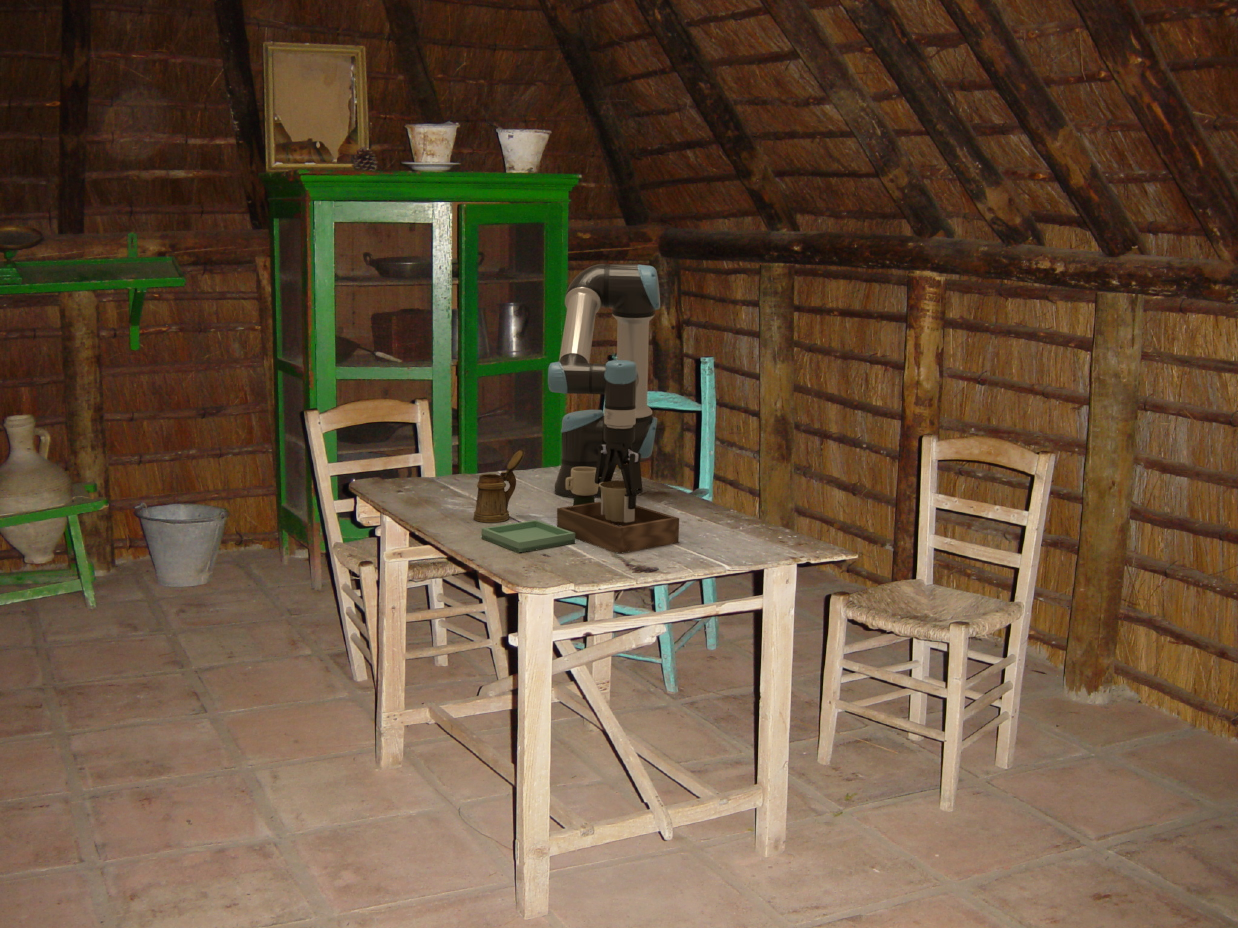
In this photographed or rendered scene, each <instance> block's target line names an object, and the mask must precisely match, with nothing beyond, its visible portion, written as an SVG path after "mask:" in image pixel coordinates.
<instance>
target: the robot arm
mask: <svg viewBox="0 0 1238 928" xmlns="http://www.w3.org/2000/svg"><path fill="white" fill-rule="evenodd" d="M657 271H658V270H657V269H656V267H654V266H652V265H645V264H633V263H632V264H619V263H618V264H617V263H616V264H612V263H611V264H607V263H599V264H593V265H591V266H589V267H587V268H585V269H584V270H582V271H581V272H579V273H578V274H577V275H576V276H575V277H574V278H573V280H572V281H571V283H569V286H568V288H567V290H566V292H565V297H564V306H565V308H566V314H565V320H564V321H565V322H564V327H563V328H564V329H563V334H562V339H561V346H560V353H559V359H558V361H555V362H550V363H549V365H548V369H547V370H548V372H547V385H548V390H549V391H550V392H552V393H559V394H565V395H569V394H573V395H574V394H577V395H578V394H580V395H581V394H582V395H583V394H584V395H585V394H586V395H587V394H588V395H604V406H603V407H604V411H603V410H602V409H586V410H577V411H572V412H569V413H566V414H565V415H564V416H563V417H562V419H561V420H562V421H561V430H560V433H561V453H560V457H561V458H560V461H561V462H560V468H559V471H558V474H557V477H556V481H555V483H554V493H555V494H556V495H557V496H560V497H561V496H562V497H567V498H573V499H574V498H575V496H576V494H573V493H572V492H571V490H566V478H567V477H571V469H572V468H574V467H594V468H596V474H595V483H596V484H599V483H601V482H608V481H612V479H613V476H614V473H615V471H616V467H618V469H619V470H620V473H621V476H622V477H621V478H622V480H623V481H624V485H625V489H626V493H627V494H625V496H624V522H625V523H626V522H632V521H634V518H635V508H636V505H637V496H638V495H642V494H643V482H642V480H643V479H642V471H641V459H647V458H650V457H651V456H652V453H653V451H654V443H655V438H656V430H657V425H658V418H657V417H656V416H653V410H652V409H651V407H649V406H648V381H649V380H648V379H649V375H648V374H649V337H650V336H649V335H650V334H649V331H650V329H649V328H650V321H651V320H652V319H653V318H654V317H655V315H656V311H657V310H660V309H661V299H660V297H661V296H660V295H661V294H660V285H659V278H658V277H659V276H658V272H657ZM601 308H605V309H611V316H612V317H613V318H615V320H616V321H617V328H616V329H617V335H616V336H617V337H616V338H617V339H616V341H617V342H616V360H614V359H613V360H608V361H607V362H606V363H590V360H591V352H592V345H593V337H594V329H595V322H596V321H595V320H596V314H597V313H598V312H599V311H600V309H601ZM600 477H601V478H600ZM569 486H570V481H569ZM592 496H593V497H594V498H598V497H600V502H601V514H602V515H605V511H604V503H603V496H602V492H601V488H600V487H598V492H597V494H594V495H592Z"/></svg>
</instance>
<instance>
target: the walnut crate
mask: <svg viewBox="0 0 1238 928" xmlns="http://www.w3.org/2000/svg"><path fill="white" fill-rule="evenodd" d="M556 517H557V518H556V527H559V528H562V529H565V530H568V531H571V532H574V533H575V540H578V541H579V540H580V541H582V542H585V543H588V544H590V545H593V546H596V547H598V546H599V547H598V548H601V549H604V548H605V549H604V550H607V549H609V550H608V551H611V552H613V551H614V552H613V553H616V552H618V553H620V554H623V553H622V552H625V553H629V552H628V551H630V552H634V551H640V550H639V549H641V550H645V548H646V549H650V548H656V547H655V546H657V547H661V545H662V546H666V545H672V544H671V543H673V544H676V543H679V540H680V539H679V537H680V517H678V516H674V515H669V514H667V513H663V512H661V511H656V510H653V509H651V508H647V507H643V506H641V505H640V506H639V505H637V504H636V508H635V518H634V521H632V522H626V523H625V522H614V521H611V520H607V519H606V518H605V515H602V514H601V501H596V502H595V503H588V504H582V505H575V506H573V505H571V506H570V505H569V506H564V507H557V509H556ZM618 553H617V554H618Z"/></svg>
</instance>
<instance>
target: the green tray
mask: <svg viewBox="0 0 1238 928" xmlns="http://www.w3.org/2000/svg"><path fill="white" fill-rule="evenodd" d="M481 539H482V540H485V541H488V542H490V543H492V544H495V545H498V546H500V547H503V548H504V549H507V548H508V550H510V551H513V552H515V551H516V552H515V553H518V552H522V553H526V551H528V552H532V551H533V550H534V551H537V550H536V549H539V550H544V548H545V549H550V547H551V548H555V547H554V546H556V547H560V545H562V546H567V545H572V544H576V538H575V533H574V532H571V531H568V530H565V529H562V528H559V527H557V525H553V524H551V523H547V522H544V521H542V520H539V519H533V520H526V521H521V522H519V521H518V522H514V523H507V524H501V525H494V526H493V525H492V526H488V527H481Z"/></svg>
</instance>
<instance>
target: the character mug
mask: <svg viewBox="0 0 1238 928" xmlns="http://www.w3.org/2000/svg"><path fill="white" fill-rule="evenodd" d="M595 474H596V468H594V467H574V468H572V469H571V477H567V478H566V490H571V492H572V493H573V494H576V496H575V498H574V497H573V503H572V506H575V505H582V504H588V503H595V497H593V496H592V495H594V494H597V492H598V487H599V484H596V483H595ZM600 478H601V477H600ZM569 481H570V486H569Z"/></svg>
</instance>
